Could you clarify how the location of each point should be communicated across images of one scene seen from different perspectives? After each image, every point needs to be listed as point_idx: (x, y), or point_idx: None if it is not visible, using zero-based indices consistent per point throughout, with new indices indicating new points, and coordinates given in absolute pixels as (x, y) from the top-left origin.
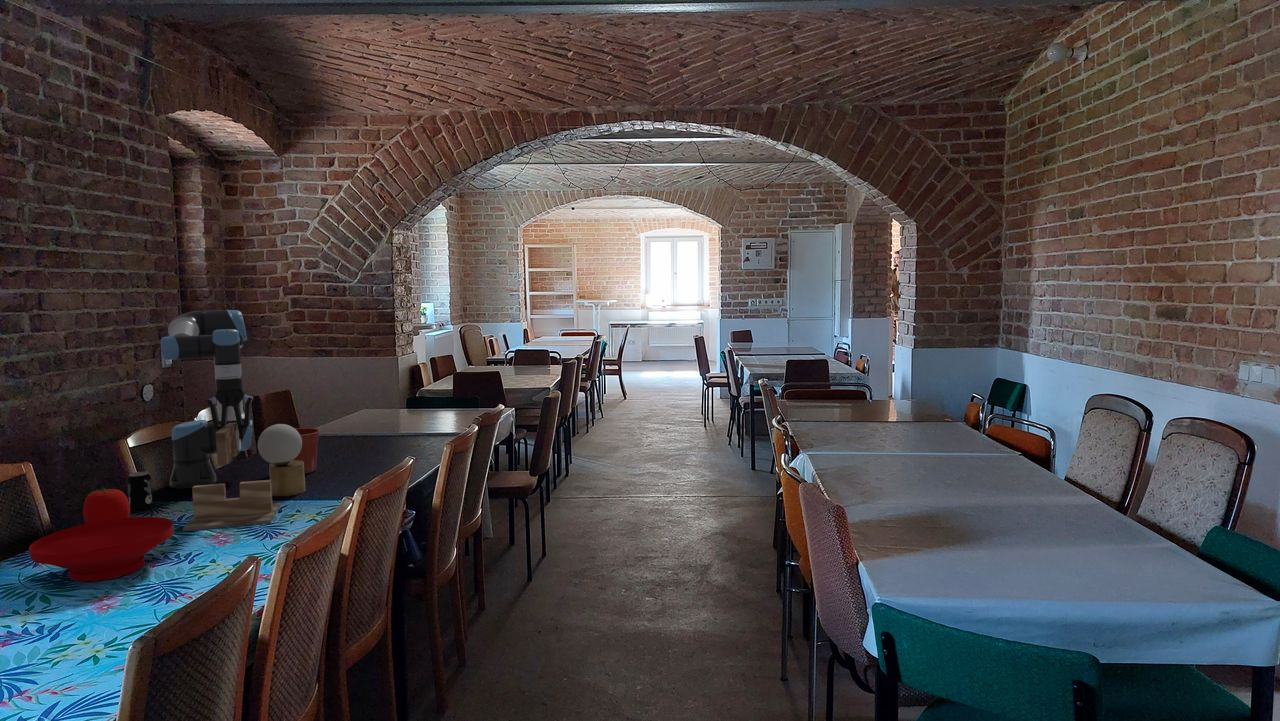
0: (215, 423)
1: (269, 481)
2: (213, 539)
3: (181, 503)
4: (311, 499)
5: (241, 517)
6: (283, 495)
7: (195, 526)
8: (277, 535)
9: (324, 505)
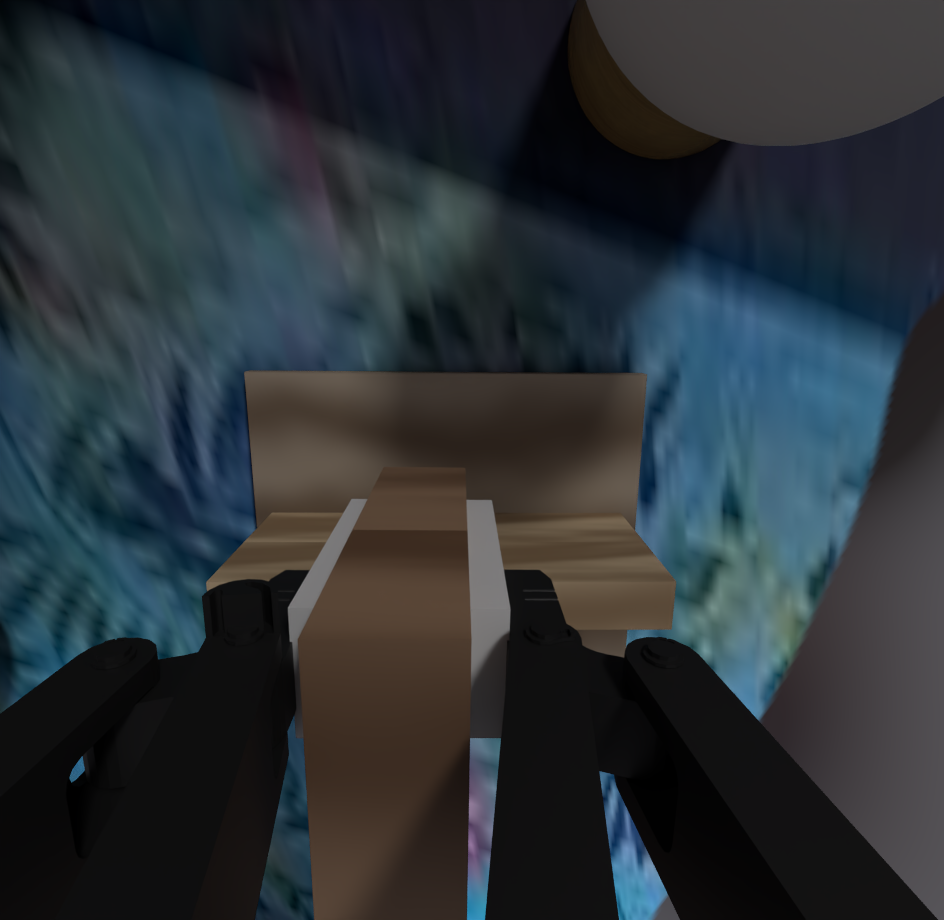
0: (76, 851)
1: (669, 625)
2: None
3: (63, 94)
4: (797, 293)
5: None
6: (648, 156)
7: None
8: None
9: (854, 449)
